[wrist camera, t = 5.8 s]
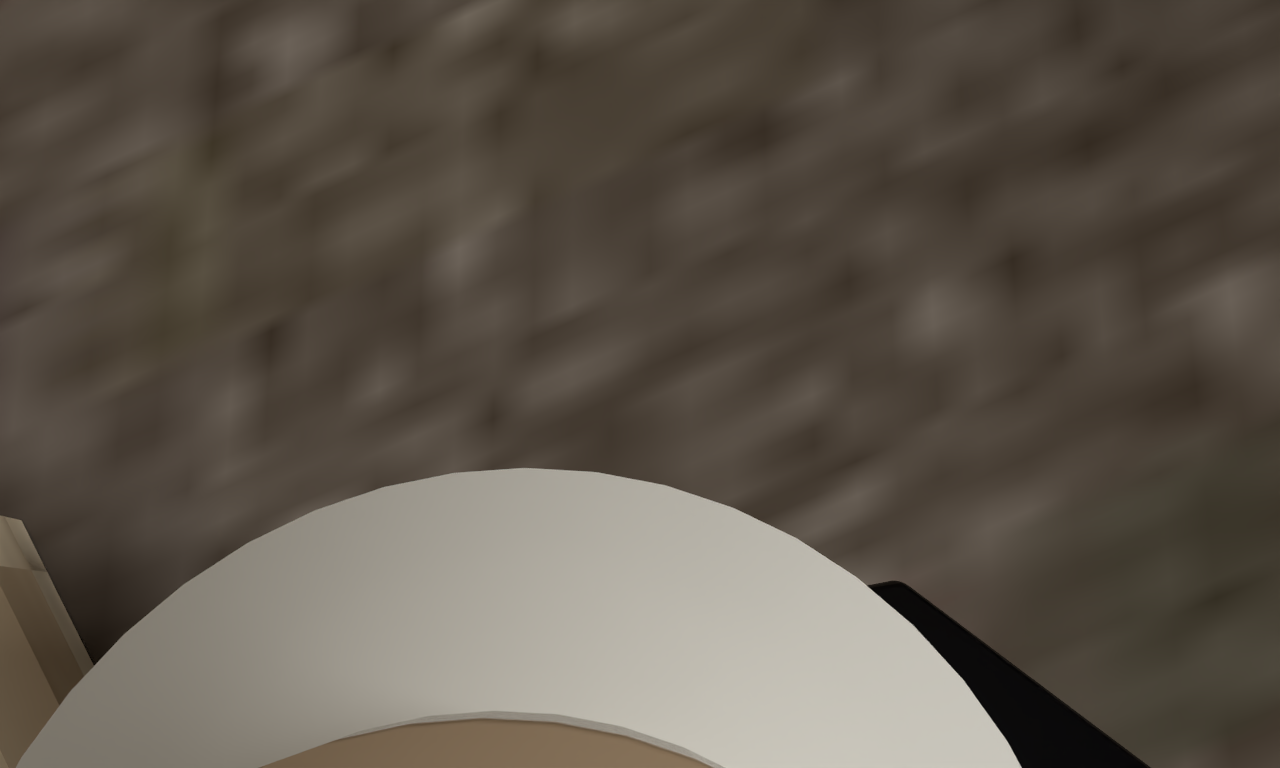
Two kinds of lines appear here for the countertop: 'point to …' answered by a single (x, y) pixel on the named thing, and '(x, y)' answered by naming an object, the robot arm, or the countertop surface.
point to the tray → (31, 645)
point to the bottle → (522, 645)
